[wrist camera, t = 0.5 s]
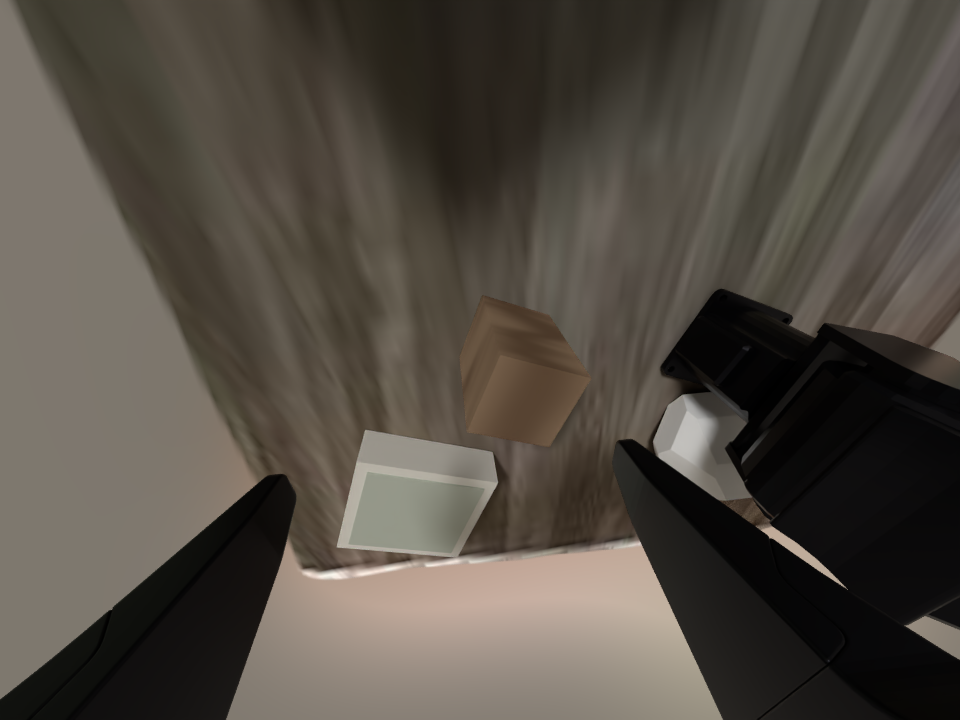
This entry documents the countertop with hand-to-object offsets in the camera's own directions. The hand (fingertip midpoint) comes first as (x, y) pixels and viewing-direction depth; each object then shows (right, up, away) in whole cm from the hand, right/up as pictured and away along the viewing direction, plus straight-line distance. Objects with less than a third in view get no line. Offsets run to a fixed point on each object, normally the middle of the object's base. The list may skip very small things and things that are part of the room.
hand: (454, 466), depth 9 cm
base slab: (-5, -7, +19) cm, 21 cm away
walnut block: (+2, +4, +12) cm, 13 cm away
